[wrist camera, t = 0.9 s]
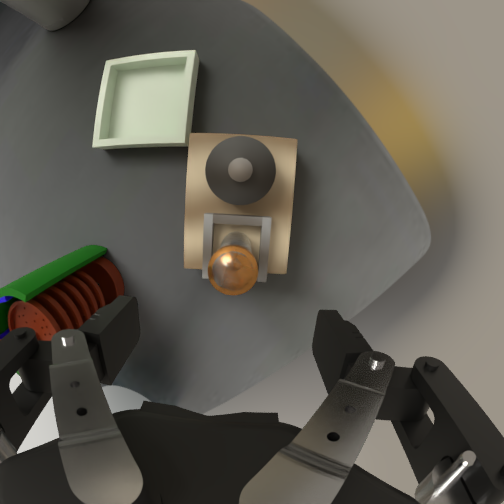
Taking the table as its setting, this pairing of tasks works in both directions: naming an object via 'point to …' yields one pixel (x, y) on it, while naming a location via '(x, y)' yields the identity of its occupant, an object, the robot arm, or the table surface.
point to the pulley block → (239, 197)
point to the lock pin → (233, 265)
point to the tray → (147, 101)
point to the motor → (60, 293)
